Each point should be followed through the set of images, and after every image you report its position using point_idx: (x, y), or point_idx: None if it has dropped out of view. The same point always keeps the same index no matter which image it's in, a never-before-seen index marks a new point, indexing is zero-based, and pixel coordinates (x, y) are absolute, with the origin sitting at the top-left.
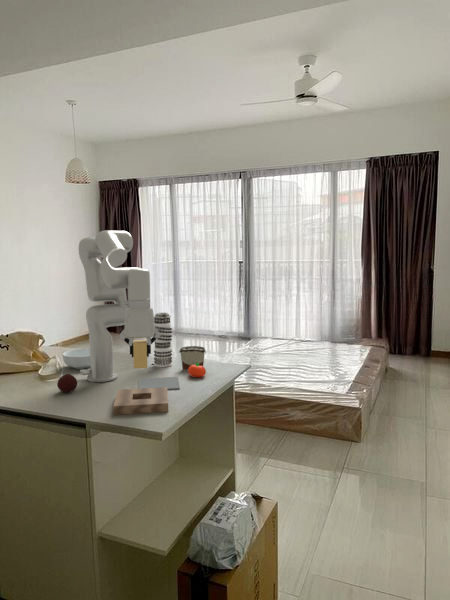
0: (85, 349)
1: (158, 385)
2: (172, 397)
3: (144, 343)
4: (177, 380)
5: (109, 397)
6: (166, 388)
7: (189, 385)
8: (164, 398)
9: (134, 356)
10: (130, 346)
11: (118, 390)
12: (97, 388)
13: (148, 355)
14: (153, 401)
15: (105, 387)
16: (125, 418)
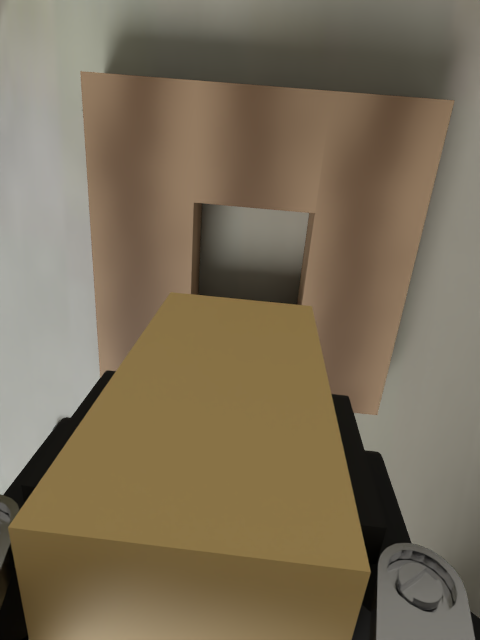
0: None
1: None
2: (88, 320)
3: (74, 512)
4: None
5: (411, 403)
6: (103, 365)
7: (13, 464)
8: (108, 182)
9: (313, 372)
10: (398, 554)
11: (376, 402)
12: (449, 534)
13: (105, 374)
14: (178, 135)
15: (410, 537)
16: (368, 18)
